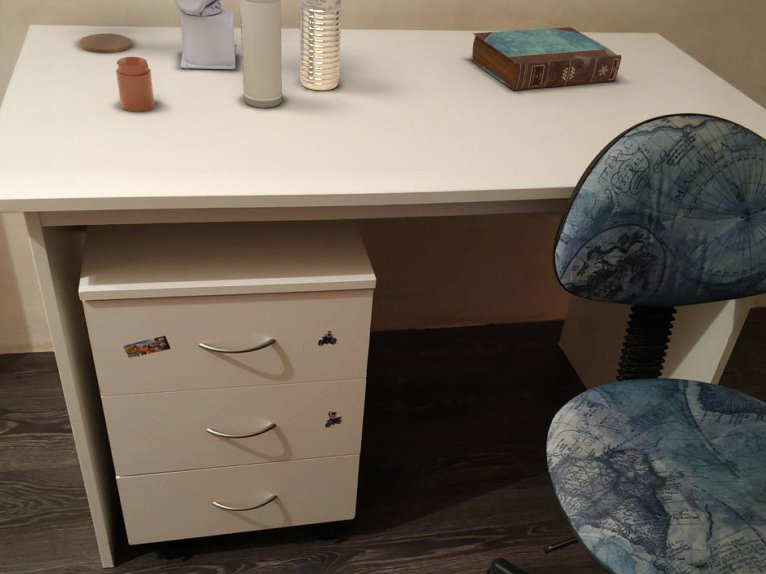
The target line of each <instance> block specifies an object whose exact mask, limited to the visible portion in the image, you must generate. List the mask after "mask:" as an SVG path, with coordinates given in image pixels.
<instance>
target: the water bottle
mask: <svg viewBox="0 0 766 574" xmlns="http://www.w3.org/2000/svg"><path fill="white" fill-rule="evenodd" d="M299 9H300V11H299V21H300V22H299V80H300V83H301V85H302V86H303V87H304V88H305V89H309V90H313V91H331V90H333V89H335V88H337V86H338V84H339V80H340V60H341V59H340V57H341V55H340V54H341V33H342V32H341V29H342V25H341V24H342V0H300V4H299Z"/></svg>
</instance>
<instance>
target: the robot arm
mask: <svg viewBox="0 0 766 574" xmlns="http://www.w3.org/2000/svg"><path fill="white" fill-rule="evenodd" d="M173 2H174V4H175V5H176V6H177V7H178V8H179V19H180V29H181V38H182V39H181V42H182V52H181V60H180V68H182V69H201V70H202V69H207V70H208V69H209V70H235V69H236V56H237V55H238V49H237V48H238V46H237V44H236V43H235V24H234V11H233V10H227V9H226V10H225V9H223V8H222V3H221V0H173Z"/></svg>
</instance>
